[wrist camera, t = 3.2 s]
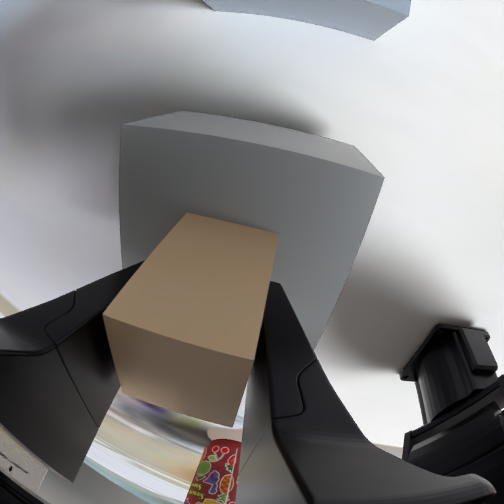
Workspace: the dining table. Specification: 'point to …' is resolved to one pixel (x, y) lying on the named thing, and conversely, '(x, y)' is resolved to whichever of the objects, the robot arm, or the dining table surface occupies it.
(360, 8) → the blue-grey and tan block
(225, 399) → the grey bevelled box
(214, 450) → the smoothie
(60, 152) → the dining table surface
